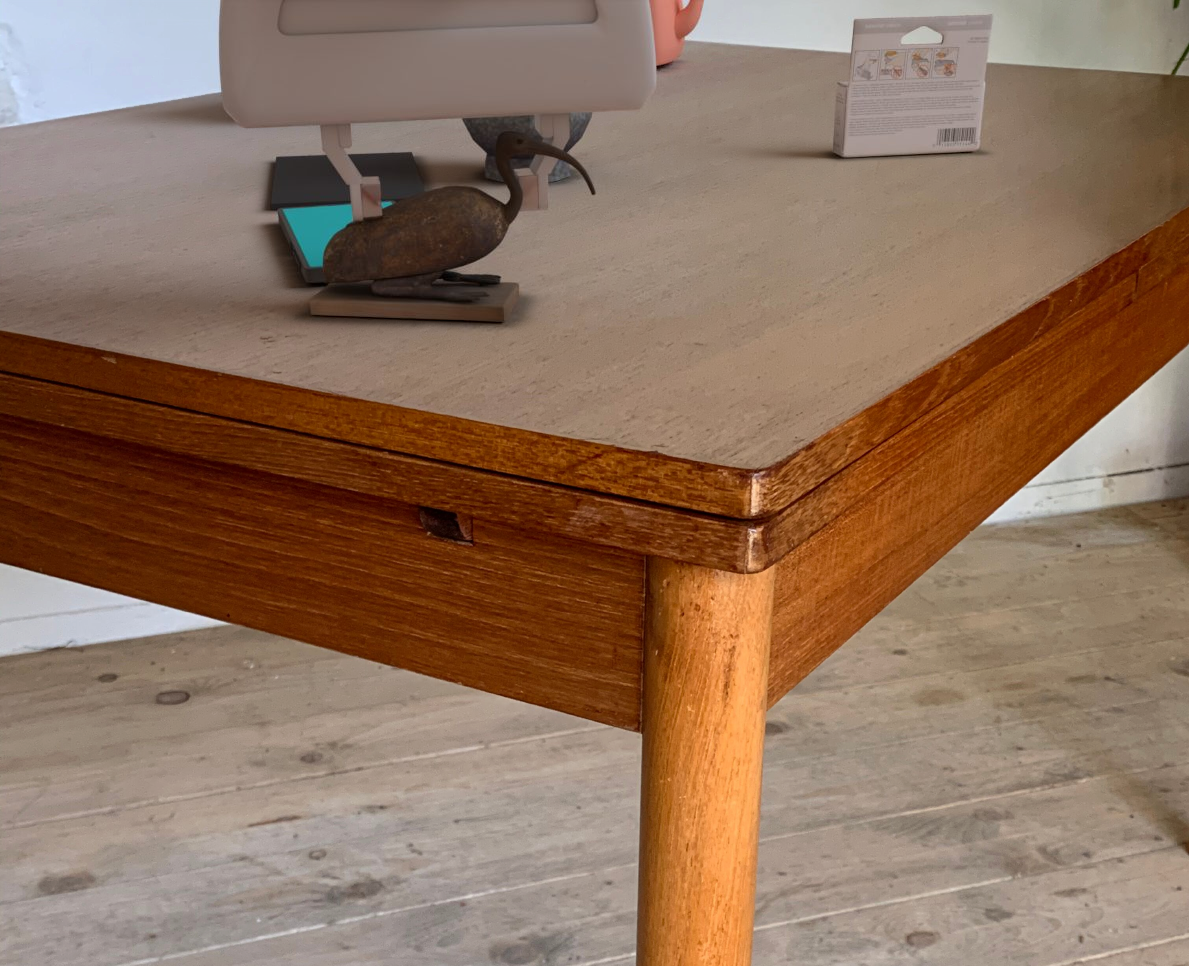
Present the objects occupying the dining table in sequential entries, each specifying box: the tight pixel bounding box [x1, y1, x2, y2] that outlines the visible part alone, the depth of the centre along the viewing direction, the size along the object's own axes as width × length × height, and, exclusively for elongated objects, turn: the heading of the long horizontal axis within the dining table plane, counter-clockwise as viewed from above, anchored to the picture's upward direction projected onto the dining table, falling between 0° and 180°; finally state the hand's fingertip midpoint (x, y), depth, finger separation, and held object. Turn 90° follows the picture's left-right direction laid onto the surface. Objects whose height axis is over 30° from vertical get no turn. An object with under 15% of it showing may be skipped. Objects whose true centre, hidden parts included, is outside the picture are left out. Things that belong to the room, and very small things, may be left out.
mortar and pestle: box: [461, 112, 593, 183], centre depth 98 cm, size 11×9×12 cm
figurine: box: [309, 131, 597, 323], centre depth 69 cm, size 14×4×9 cm, turn 83°
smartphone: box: [277, 201, 396, 284], centre depth 82 cm, size 7×1×15 cm
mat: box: [270, 151, 426, 211], centre depth 99 cm, size 10×16×1 cm, turn 10°
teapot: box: [649, 0, 705, 67], centre depth 149 cm, size 12×18×10 cm, turn 73°
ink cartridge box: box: [832, 13, 994, 158], centre depth 105 cm, size 2×11×10 cm, turn 102°
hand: (449, 213), depth 69 cm, fingers closed on figurine, 7 cm apart
